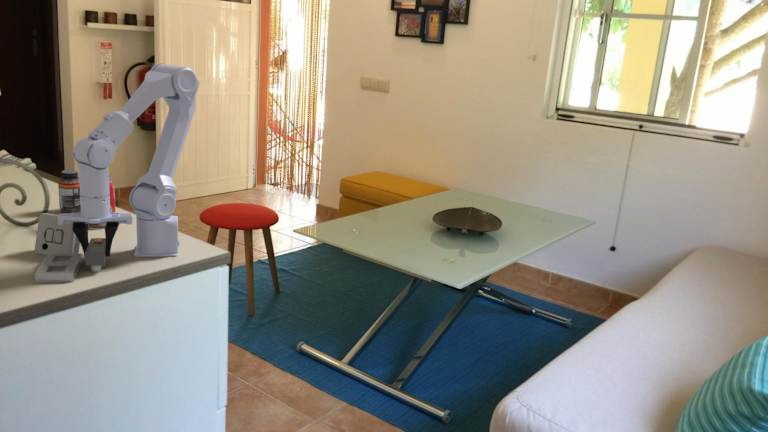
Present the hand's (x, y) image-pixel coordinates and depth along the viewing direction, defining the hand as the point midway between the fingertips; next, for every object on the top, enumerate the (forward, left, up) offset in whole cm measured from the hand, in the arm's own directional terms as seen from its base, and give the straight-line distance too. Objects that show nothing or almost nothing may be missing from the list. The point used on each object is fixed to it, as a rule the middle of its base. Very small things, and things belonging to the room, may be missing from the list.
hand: (97, 255), depth 137 cm
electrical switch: (+9, -9, -3) cm, 13 cm away
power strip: (0, 0, -2) cm, 2 cm away
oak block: (0, 0, -3) cm, 3 cm away
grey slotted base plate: (+7, +3, -3) cm, 8 cm away
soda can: (+3, -31, -3) cm, 31 cm away
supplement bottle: (+12, -44, -3) cm, 46 cm away
